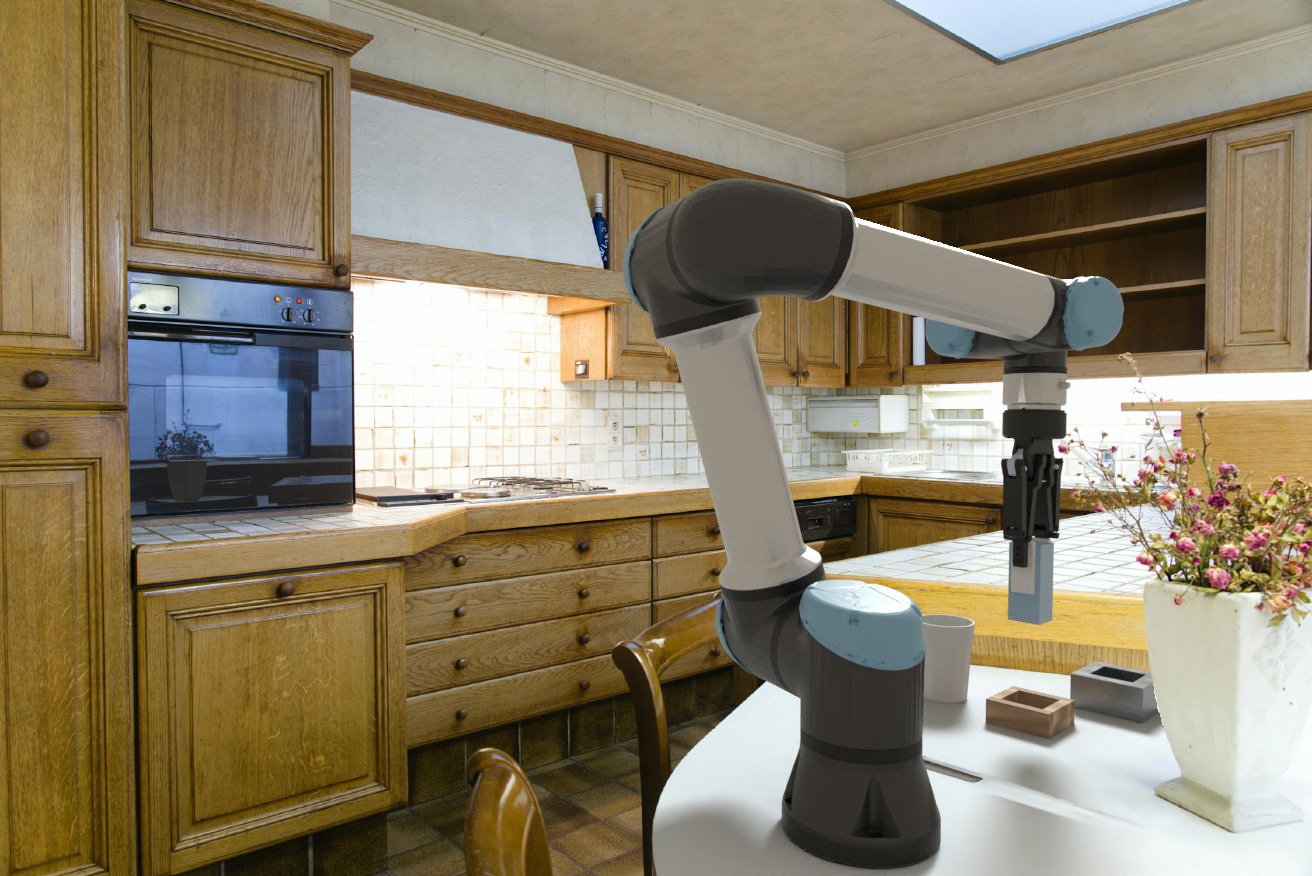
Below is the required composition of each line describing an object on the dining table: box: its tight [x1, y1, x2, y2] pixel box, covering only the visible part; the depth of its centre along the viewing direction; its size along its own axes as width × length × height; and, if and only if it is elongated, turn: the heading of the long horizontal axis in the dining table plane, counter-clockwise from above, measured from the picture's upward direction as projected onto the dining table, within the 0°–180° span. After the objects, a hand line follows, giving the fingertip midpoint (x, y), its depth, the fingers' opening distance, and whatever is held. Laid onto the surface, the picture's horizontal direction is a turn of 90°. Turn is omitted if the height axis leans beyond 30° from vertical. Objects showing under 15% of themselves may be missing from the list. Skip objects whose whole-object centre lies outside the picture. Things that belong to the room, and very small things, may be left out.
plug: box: [1007, 540, 1055, 626], centre depth 111 cm, size 4×4×10 cm
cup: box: [922, 613, 976, 704], centre depth 122 cm, size 8×8×12 cm
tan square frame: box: [985, 685, 1076, 740], centre depth 111 cm, size 8×8×4 cm
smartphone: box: [923, 758, 984, 783], centre depth 103 cm, size 7×1×15 cm
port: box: [1069, 660, 1159, 724], centre depth 117 cm, size 9×9×5 cm
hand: (1030, 589), depth 111 cm, fingers closed on plug, 4 cm apart
